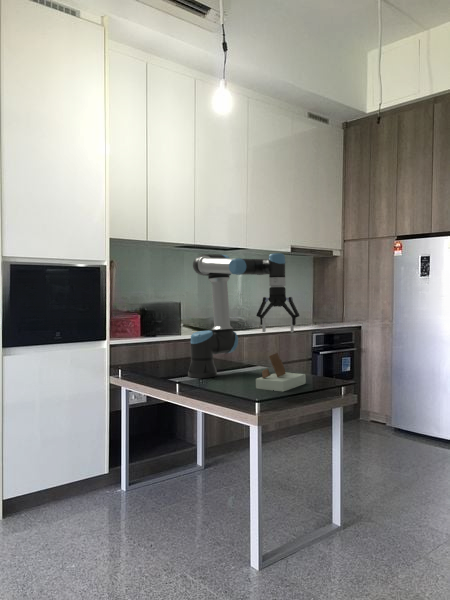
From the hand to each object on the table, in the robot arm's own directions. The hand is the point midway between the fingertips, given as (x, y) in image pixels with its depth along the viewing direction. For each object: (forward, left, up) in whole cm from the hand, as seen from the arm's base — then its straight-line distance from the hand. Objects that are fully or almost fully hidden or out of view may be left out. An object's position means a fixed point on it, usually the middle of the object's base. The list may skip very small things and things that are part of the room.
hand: (277, 332), depth 233 cm
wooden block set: (0, -1, -21) cm, 21 cm away
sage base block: (+2, -2, -25) cm, 26 cm away
